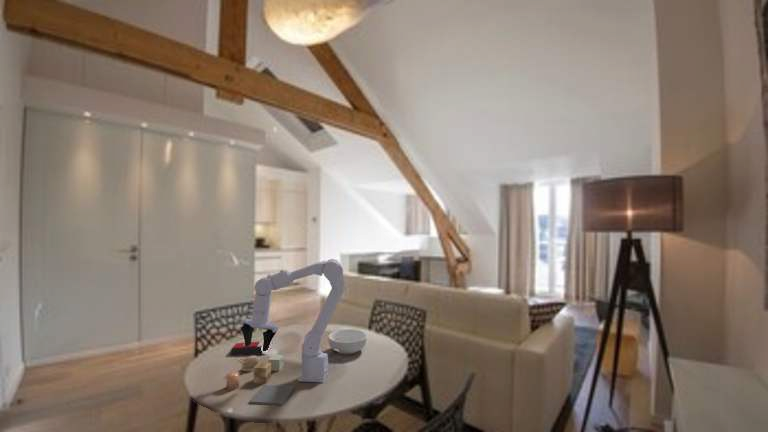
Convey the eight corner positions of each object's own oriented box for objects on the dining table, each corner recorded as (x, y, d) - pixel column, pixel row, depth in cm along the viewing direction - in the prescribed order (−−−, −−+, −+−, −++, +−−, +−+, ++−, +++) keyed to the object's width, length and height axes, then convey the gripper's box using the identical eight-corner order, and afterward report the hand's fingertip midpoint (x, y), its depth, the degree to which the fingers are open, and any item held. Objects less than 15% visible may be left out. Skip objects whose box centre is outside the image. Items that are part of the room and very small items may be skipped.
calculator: (238, 338, 158) (272, 336, 160) (239, 348, 158) (272, 345, 160) (230, 347, 147) (266, 344, 149) (231, 357, 147) (267, 354, 149)
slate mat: (294, 388, 119) (294, 386, 119) (282, 405, 108) (282, 403, 108) (263, 386, 120) (263, 384, 120) (248, 403, 109) (248, 401, 109)
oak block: (271, 377, 127) (271, 362, 127) (265, 383, 122) (265, 368, 122) (259, 377, 127) (259, 362, 127) (253, 383, 123) (253, 367, 123)
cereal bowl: (320, 352, 151) (320, 336, 151) (345, 341, 165) (345, 326, 165) (349, 362, 141) (350, 344, 141) (373, 349, 155) (374, 333, 155)
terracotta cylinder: (241, 384, 121) (241, 372, 121) (235, 390, 117) (235, 377, 117) (230, 384, 122) (230, 371, 122) (224, 389, 118) (224, 376, 118)
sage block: (283, 366, 137) (283, 355, 137) (279, 371, 132) (279, 359, 132) (272, 366, 137) (272, 355, 137) (268, 370, 133) (268, 359, 133)
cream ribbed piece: (261, 368, 135) (261, 355, 135) (239, 374, 129) (239, 360, 129) (258, 365, 138) (258, 351, 138) (236, 370, 132) (236, 356, 133)
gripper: (237, 309, 124) (232, 346, 123) (271, 316, 120) (266, 355, 119) (250, 305, 131) (245, 341, 130) (283, 312, 126) (278, 349, 126)
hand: (256, 347), depth 125 cm, fingers open, 7 cm apart
